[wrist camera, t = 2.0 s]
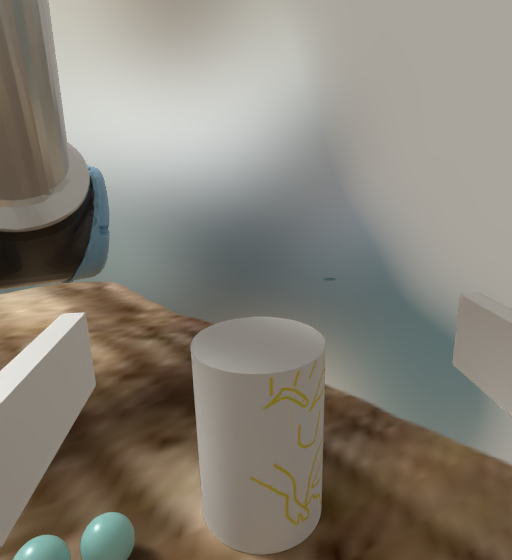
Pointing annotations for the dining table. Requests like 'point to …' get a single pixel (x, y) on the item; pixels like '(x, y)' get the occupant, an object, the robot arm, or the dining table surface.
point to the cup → (260, 430)
